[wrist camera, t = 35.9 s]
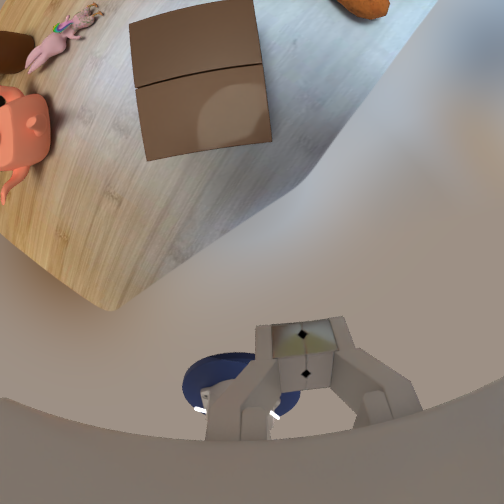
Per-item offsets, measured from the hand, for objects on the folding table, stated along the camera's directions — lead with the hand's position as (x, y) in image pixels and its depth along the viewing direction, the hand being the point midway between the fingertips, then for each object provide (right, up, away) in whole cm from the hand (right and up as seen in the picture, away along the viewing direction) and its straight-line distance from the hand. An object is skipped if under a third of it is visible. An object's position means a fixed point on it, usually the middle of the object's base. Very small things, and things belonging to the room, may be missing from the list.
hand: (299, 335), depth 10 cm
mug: (-44, +36, +18) cm, 59 cm away
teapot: (-36, +23, +24) cm, 49 cm away
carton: (-7, +24, +23) cm, 34 cm away
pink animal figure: (-30, +36, +18) cm, 50 cm away
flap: (-6, +15, +14) cm, 22 cm away
